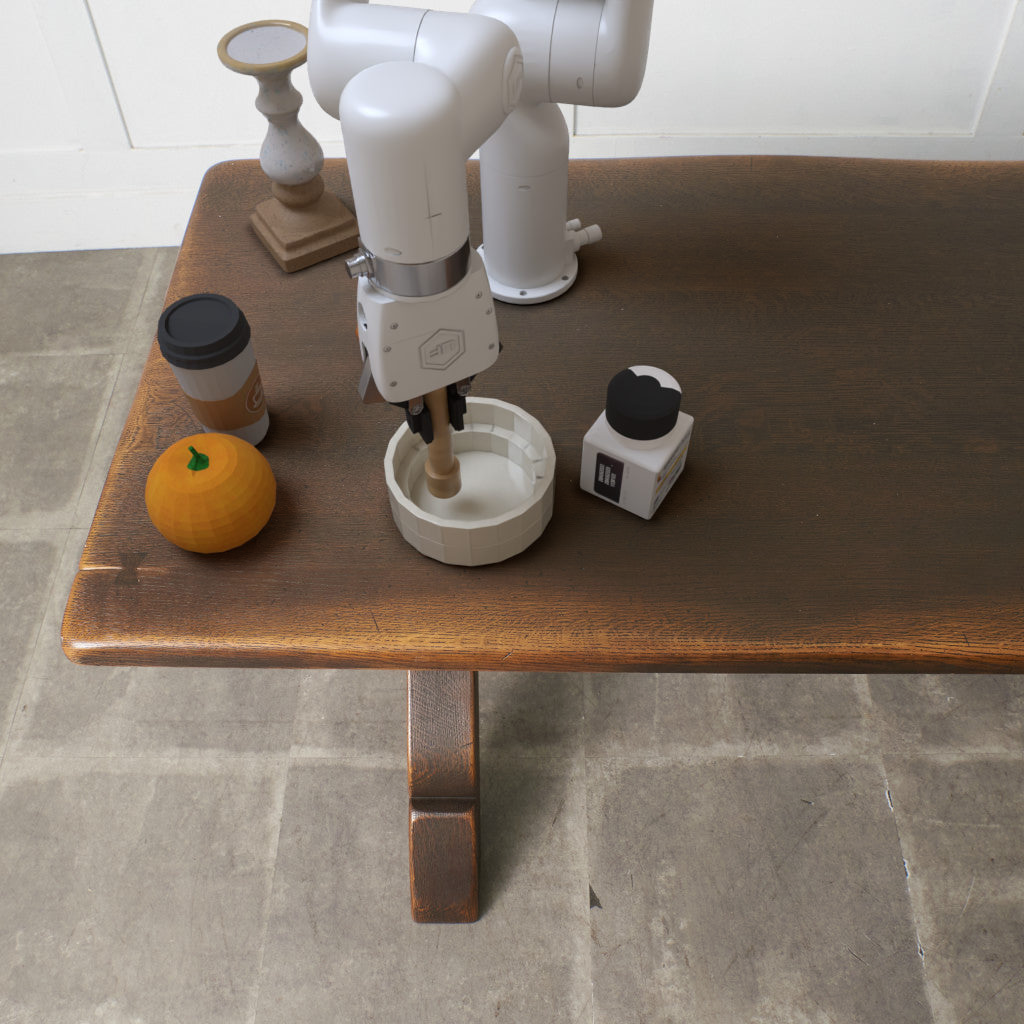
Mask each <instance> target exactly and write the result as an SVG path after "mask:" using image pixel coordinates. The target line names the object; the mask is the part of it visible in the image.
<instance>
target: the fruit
mask: <svg viewBox="0 0 1024 1024" xmlns="http://www.w3.org/2000/svg"><path fill="white" fill-rule="evenodd" d="M276 496H277V482H276V478H275V475H274V473H273V470H272V468H271V465H270V463H269V461H268V459H267V458H266V457H265V456H264V455H263V454H262V453H261V452H260V451H259V450H258V448H256V447H255V446H253V445H252V444H250V443H248V442H246V441H244V440H242V439H240V438H237V437H235V436H232V435H228V434H221V433H205V432H204V433H203V432H202V433H196V434H193V435H190V436H187V437H184V438H181V439H180V440H179V441H177V442H175V443H174V444H172V445H170V446H168V448H167V449H165V450H164V451H163V453H162V454H160V455H159V457H157V459H156V461H154V464H153V466H152V468H151V469H150V471H149V473H148V475H147V478H146V483H145V490H144V502H145V505H146V510H147V513H148V516H149V519H150V521H151V524H153V526H154V528H156V529H157V531H159V533H160V534H161V535H162V537H164V539H165V540H167V541H168V542H169V543H171V544H173V545H175V546H177V547H179V548H181V549H183V550H185V551H188V552H195V553H201V554H212V553H213V554H214V553H223V552H226V551H229V550H232V549H235V548H237V547H240V546H243V545H244V544H246V543H247V542H249V541H250V540H251V539H253V538H255V537H256V536H257V535H258V534H259V533H260V532H261V531H262V529H263V528H264V527H265V526H266V525H267V524H268V522H269V520H270V517H271V516H272V513H273V511H274V509H275V506H276V499H277V497H276Z"/></svg>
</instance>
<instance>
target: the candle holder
mask: <svg viewBox="0 0 1024 1024" xmlns="http://www.w3.org/2000/svg"><path fill="white" fill-rule="evenodd" d="M308 28H309V27H307V26H305V25H303V24H301V23H299V22H296V21H292V20H286V19H263V20H262V19H261V20H256V21H251V22H248V23H243V24H241V25H239V26H237V27H234V28H232V29H231V30H229V31H228V32H227V33H225V34H224V35H223V36H222V37H221V38H220V40H219V42H218V43H217V46H216V53H217V54H216V55H217V57H218V60H219V61H220V63H221V64H222V65H223V66H224V67H225V68H226V69H228V70H230V71H231V72H234V73H236V74H239V75H244V76H248V77H249V76H251V77H252V78H254V79H255V80H256V82H257V84H258V93H257V96H256V97H255V100H254V105H255V108H256V110H257V111H258V112H259V113H261V114H262V116H263V117H264V118H265V119H266V120H267V123H268V125H267V131H266V134H265V137H264V139H263V141H262V144H261V147H260V151H259V164H260V167H261V170H262V172H263V174H265V176H267V178H268V179H270V180H271V181H272V185H271V190H272V191H271V192H272V194H273V198H269V199H267V200H265V201H263V202H260V203H258V204H257V205H255V207H254V209H255V212H254V213H252V214H249V219H250V220H249V221H250V223H251V228H252V230H253V232H254V233H255V235H256V236H257V237H258V239H259V240H260V241H261V242H262V244H263V245H264V247H265V248H266V249H267V251H268V252H269V253H270V254H271V256H272V257H273V258H274V260H275V261H276V262H277V264H278V266H280V268H281V269H282V270H283V271H284V272H285V273H287V274H291V273H294V272H297V271H299V270H302V269H304V268H307V267H310V266H313V265H315V264H317V263H320V262H322V261H326V260H327V259H330V258H333V257H336V256H338V255H341V254H344V253H346V252H349V251H351V250H354V249H356V248H359V243H358V237H360V232H359V226H358V220H357V217H355V216H354V215H353V213H352V212H351V211H350V210H349V209H348V208H347V207H346V206H345V204H344V203H343V202H342V200H340V198H339V197H338V196H337V195H336V194H335V193H334V191H332V190H331V188H329V186H328V185H326V184H325V181H324V179H323V177H322V175H321V174H320V173H321V171H322V169H323V168H324V164H325V155H324V151H323V148H322V145H321V143H319V141H318V140H317V139H316V137H315V136H313V135H314V134H312V133H311V132H310V131H309V130H308V129H307V128H306V127H305V126H304V125H303V124H302V123H301V121H300V119H299V112H300V111H301V107H302V106H303V104H304V96H303V94H302V93H301V91H299V90H298V89H297V88H296V87H295V86H294V84H293V83H292V82H293V81H292V74H293V71H294V70H296V69H297V68H300V67H302V66H303V65H305V64H307V43H308Z"/></svg>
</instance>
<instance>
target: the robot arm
mask: <svg viewBox="0 0 1024 1024" xmlns="http://www.w3.org/2000/svg"><path fill="white" fill-rule="evenodd" d="M654 3H655V0H475V1H474V2H473V3H472V5H471V7H470V9H469V10H468V12H457V11H446V10H445V11H444V10H435V9H429V8H421V7H413V6H412V7H411V6H410V7H409V6H402V5H401V6H400V5H392V4H391V5H390V4H382V3H381V4H380V3H370V0H311V5H310V13H309V19H308V27H307V28H308V43H307V62H306V66H307V68H306V69H307V76H308V81H309V86H310V88H311V92H312V94H313V97H314V99H315V101H316V103H317V104H318V105H319V107H320V108H321V110H323V111H324V112H325V113H326V114H327V115H328V116H330V117H331V118H333V119H335V120H337V121H339V122H340V129H341V135H342V140H343V145H344V151H345V158H346V163H347V168H348V174H349V180H350V186H351V191H352V198H353V203H354V208H355V209H354V210H355V213H356V214H355V215H356V219H357V220H358V226H359V232H360V237H358V243H359V246H358V247H357V252H356V253H354V254H353V256H352V257H349V258H347V259H344V260H343V264H344V268H345V270H346V273H347V275H348V277H349V279H351V280H352V279H355V278H358V279H357V289H356V290H357V291H356V318H357V321H356V322H357V325H358V333H359V340H358V342H360V343H359V348H360V354H361V359H362V363H363V368H362V372H361V376H360V378H359V382H358V385H357V388H356V393H357V395H358V397H359V398H360V400H361V401H362V403H363V404H364V405H375V404H385V403H388V404H389V405H392V406H395V407H398V408H402V409H404V412H405V421H406V420H407V423H408V426H409V428H410V430H411V431H412V433H413V434H416V433H419V434H420V435H421V437H422V439H423V440H424V442H425V443H426V445H427V444H430V443H432V441H433V440H434V435H433V427H432V419H431V413H430V410H429V408H428V407H427V405H426V404H425V402H424V400H423V396H422V395H424V394H426V393H429V392H431V391H434V390H437V389H439V388H442V387H444V386H446V387H447V397H448V407H449V416H450V423H451V425H452V426H453V428H454V429H455V431H458V432H459V431H462V430H464V419H463V414H466V413H467V408H466V397H467V395H468V394H469V393H470V392H471V390H472V385H471V383H472V382H473V381H474V379H476V377H477V375H478V374H479V373H481V372H483V371H485V370H487V369H488V368H490V367H491V366H493V365H494V364H495V363H496V362H497V360H498V358H499V354H500V353H502V351H503V350H504V345H503V344H502V343H501V341H500V339H499V338H500V337H499V329H498V321H497V314H496V309H495V303H494V299H496V300H499V301H500V302H505V303H508V304H517V305H532V304H533V305H534V304H539V303H543V302H546V301H547V302H548V301H551V300H553V299H555V298H557V297H559V296H561V295H563V294H564V293H565V292H567V291H568V290H569V289H570V288H571V287H572V285H573V284H574V282H575V281H576V279H577V275H578V268H579V267H578V266H579V264H578V263H579V262H578V257H577V255H576V253H577V252H578V251H579V250H580V248H581V247H583V246H585V245H587V246H588V245H591V244H593V243H596V242H597V243H598V242H599V241H602V239H603V233H602V230H601V227H600V226H599V225H598V224H596V223H595V224H592V225H589V226H587V227H586V226H585V227H584V228H582V223H581V220H580V219H579V218H574V219H571V220H568V221H567V215H568V214H567V211H568V209H567V208H568V188H569V187H568V186H569V185H568V183H569V162H570V161H569V159H570V158H569V157H570V132H569V127H568V124H567V120H566V118H565V116H564V114H563V111H562V109H561V108H560V106H559V104H565V105H572V106H582V107H592V108H605V109H606V108H607V109H616V108H622V107H625V106H628V105H630V104H631V103H632V102H634V100H635V99H636V98H637V96H638V95H639V93H640V91H641V88H642V86H643V82H644V79H645V76H646V75H645V74H646V70H647V62H648V55H649V48H650V41H651V31H652V24H653V23H652V22H653V13H654ZM477 151H478V155H479V156H478V157H479V159H478V160H479V179H480V195H481V196H480V201H481V220H482V221H481V222H482V223H481V224H482V225H481V226H482V242H483V243H481V244H480V245H479V246H478V247H477V249H475V248H474V247H473V246H472V244H471V243H472V242H471V229H470V228H471V227H470V214H469V211H470V210H469V196H468V182H467V167H466V166H467V165H466V164H467V162H468V160H469V159H470V158H471V157H472V156H473V155H474V154H475V153H476V152H477Z"/></svg>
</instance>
